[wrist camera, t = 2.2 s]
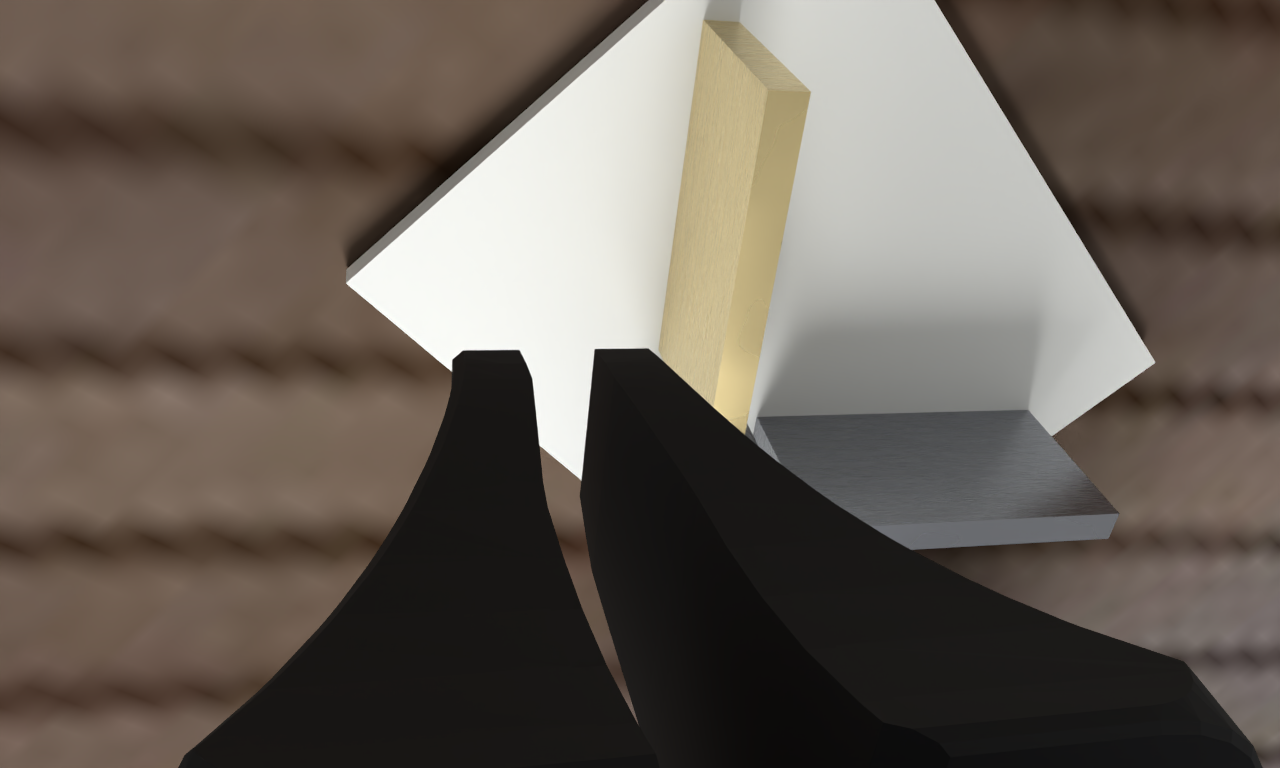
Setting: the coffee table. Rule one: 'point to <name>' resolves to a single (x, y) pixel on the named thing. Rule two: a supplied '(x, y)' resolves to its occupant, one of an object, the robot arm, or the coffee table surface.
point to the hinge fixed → (942, 476)
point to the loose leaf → (731, 215)
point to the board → (812, 241)
